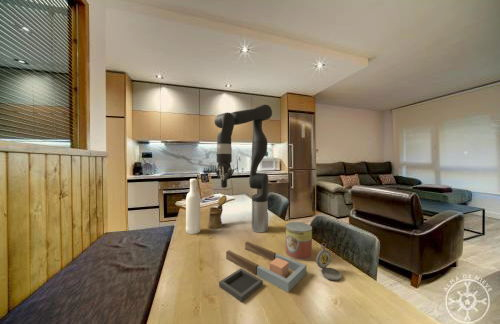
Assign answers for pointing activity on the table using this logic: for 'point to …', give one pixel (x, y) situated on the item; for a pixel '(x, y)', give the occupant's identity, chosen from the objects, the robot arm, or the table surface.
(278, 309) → the table surface
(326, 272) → the pocket watch
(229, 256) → the wooden bars
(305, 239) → the canned food
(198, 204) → the bottle
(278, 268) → the terracotta block
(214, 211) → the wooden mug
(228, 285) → the dark gray tray
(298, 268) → the slate bay
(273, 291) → the table surface
